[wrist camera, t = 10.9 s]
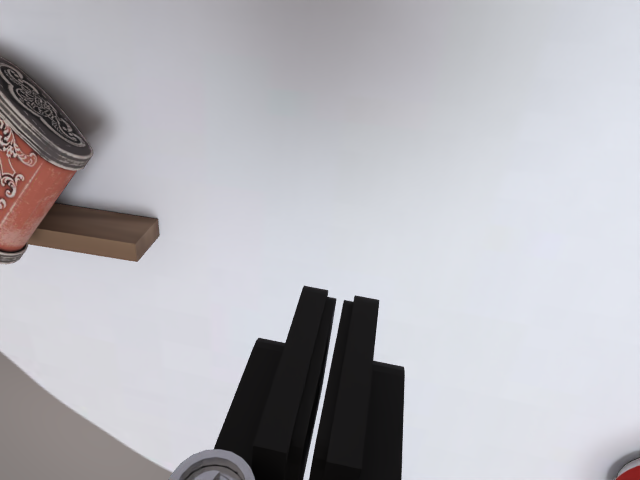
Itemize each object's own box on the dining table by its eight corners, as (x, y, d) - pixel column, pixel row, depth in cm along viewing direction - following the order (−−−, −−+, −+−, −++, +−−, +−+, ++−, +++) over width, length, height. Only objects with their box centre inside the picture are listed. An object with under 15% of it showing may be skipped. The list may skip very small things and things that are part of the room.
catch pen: (-152, -106, 23) (-219, -112, 21) (131, -75, 22) (97, -78, 20) (-50, 202, 32) (-89, 225, 29) (159, 235, 31) (137, 261, 28)
